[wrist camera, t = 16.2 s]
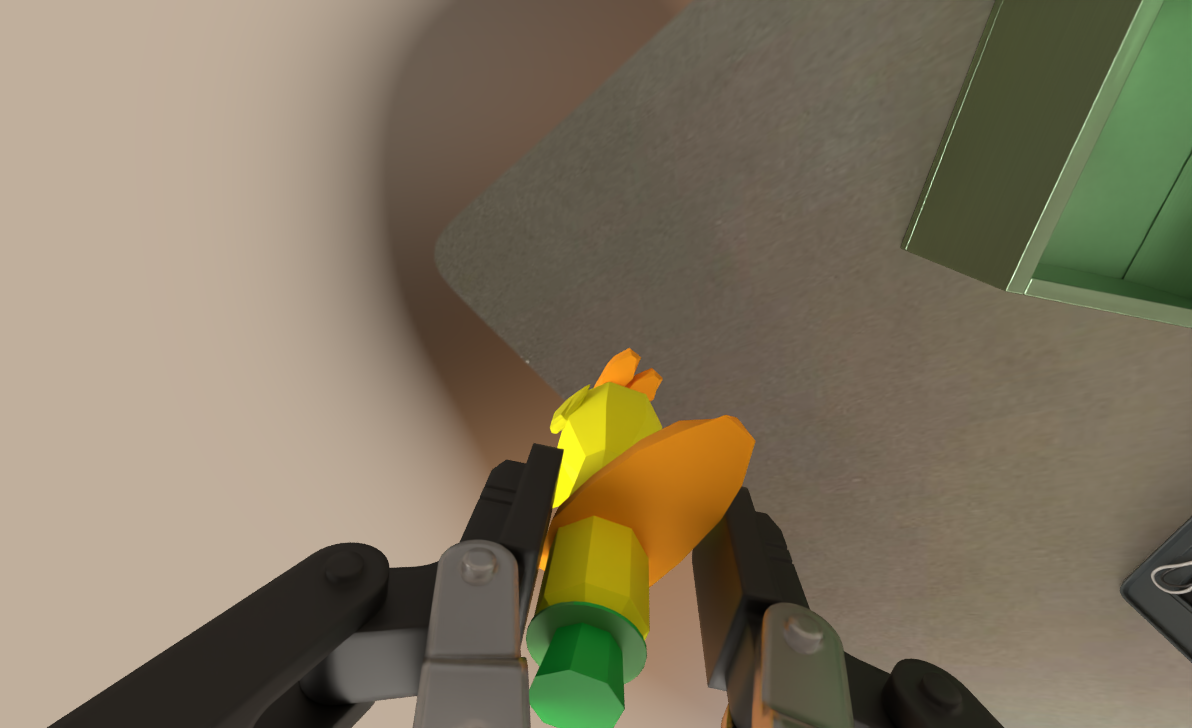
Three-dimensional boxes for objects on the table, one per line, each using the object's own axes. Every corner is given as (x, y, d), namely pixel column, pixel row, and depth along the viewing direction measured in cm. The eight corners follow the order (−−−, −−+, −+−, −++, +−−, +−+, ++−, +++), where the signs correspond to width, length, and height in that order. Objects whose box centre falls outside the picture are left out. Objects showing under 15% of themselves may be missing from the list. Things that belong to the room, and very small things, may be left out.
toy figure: (661, 273, 18) (689, 473, 7) (738, 344, 19) (874, 628, 8) (531, 409, 21) (399, 725, 9) (605, 469, 21) (563, 830, 10)
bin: (1117, 291, 35) (1312, 352, 25) (899, 248, 35) (1005, 291, 25) (1278, -3, 29) (1617, -79, 19) (1015, -55, 29) (1217, -160, 19)
